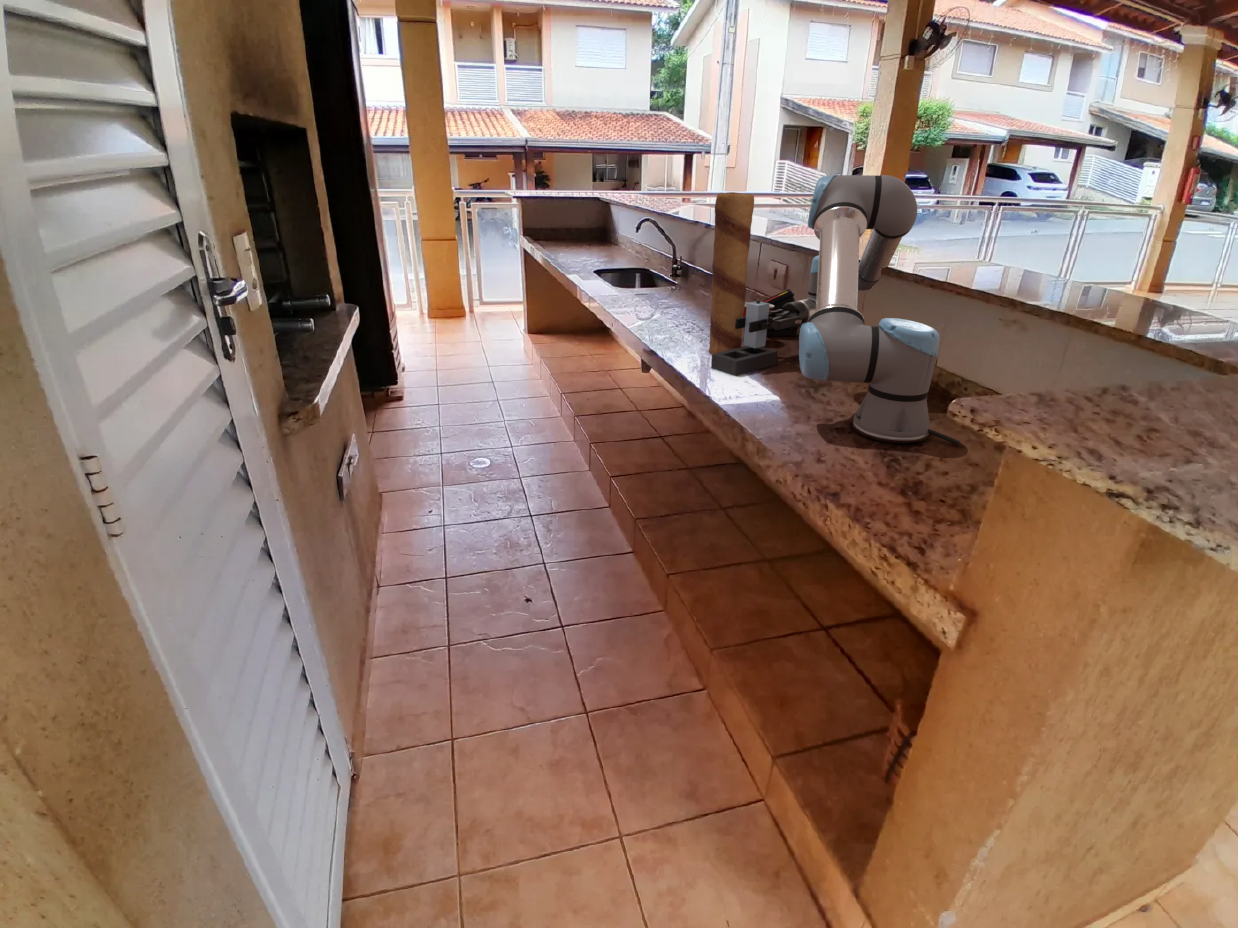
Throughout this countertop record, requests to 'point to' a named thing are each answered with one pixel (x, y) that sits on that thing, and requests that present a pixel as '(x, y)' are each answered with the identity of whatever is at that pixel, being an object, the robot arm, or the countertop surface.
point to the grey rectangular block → (755, 313)
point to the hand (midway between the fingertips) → (743, 325)
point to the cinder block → (743, 360)
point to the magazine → (778, 303)
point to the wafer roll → (729, 268)
